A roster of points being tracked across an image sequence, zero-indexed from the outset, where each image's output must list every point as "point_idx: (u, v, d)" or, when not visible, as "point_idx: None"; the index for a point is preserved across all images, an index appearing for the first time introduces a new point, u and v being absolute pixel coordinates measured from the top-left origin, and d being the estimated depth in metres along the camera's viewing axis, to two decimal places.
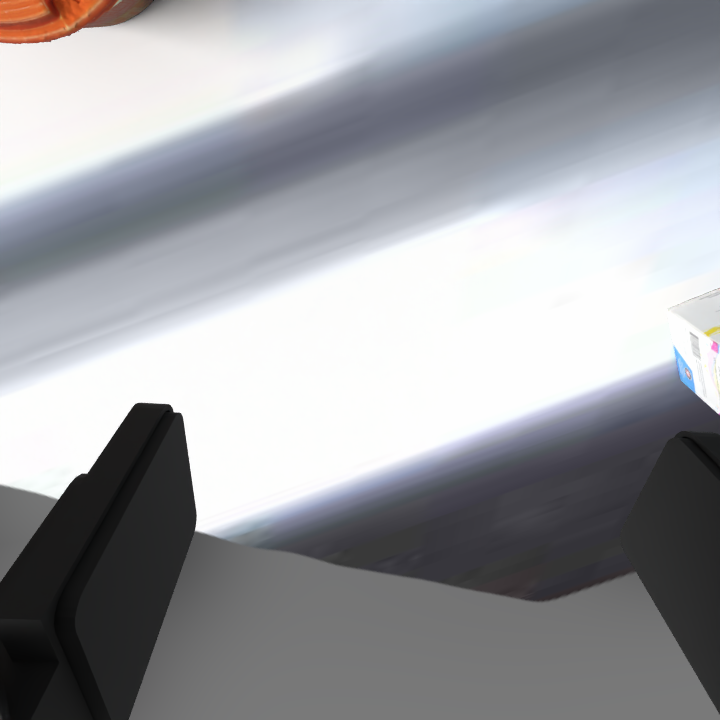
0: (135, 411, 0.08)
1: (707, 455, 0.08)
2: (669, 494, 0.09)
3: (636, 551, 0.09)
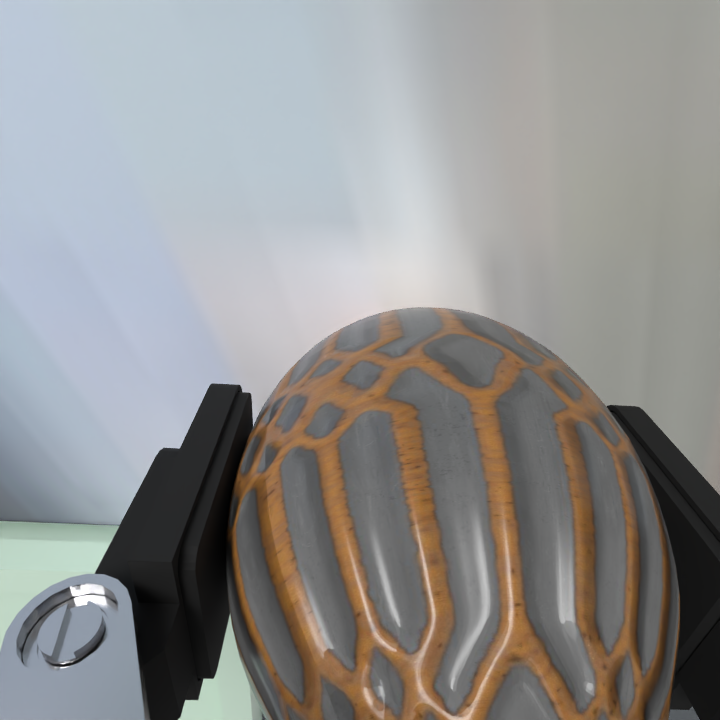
0: (212, 390, 0.08)
1: (627, 427, 0.09)
2: None
3: None
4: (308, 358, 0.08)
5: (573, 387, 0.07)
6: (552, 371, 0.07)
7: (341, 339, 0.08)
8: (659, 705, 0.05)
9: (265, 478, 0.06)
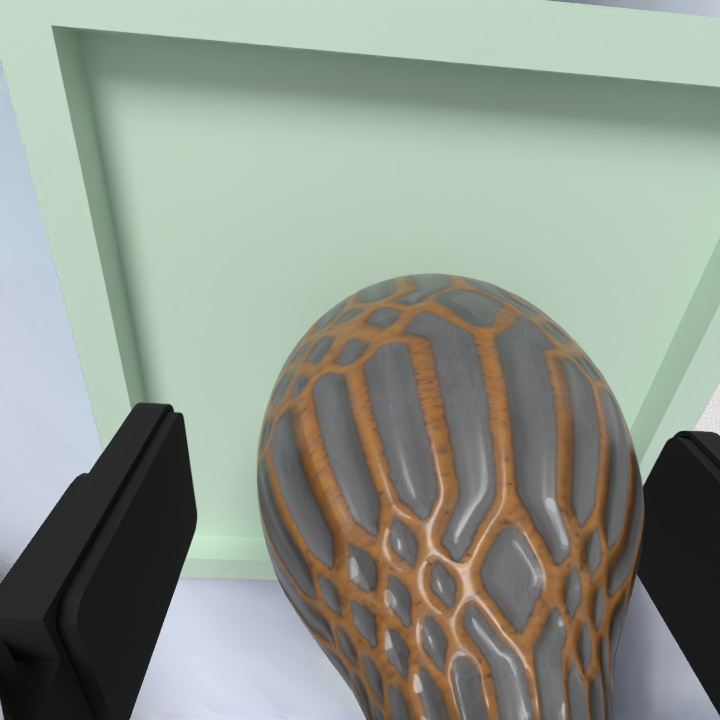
0: (136, 411, 0.08)
1: (706, 455, 0.08)
2: (668, 493, 0.09)
3: None
4: (332, 311, 0.09)
5: (561, 335, 0.08)
6: (544, 321, 0.08)
7: (362, 294, 0.09)
8: (621, 576, 0.06)
9: (298, 400, 0.07)
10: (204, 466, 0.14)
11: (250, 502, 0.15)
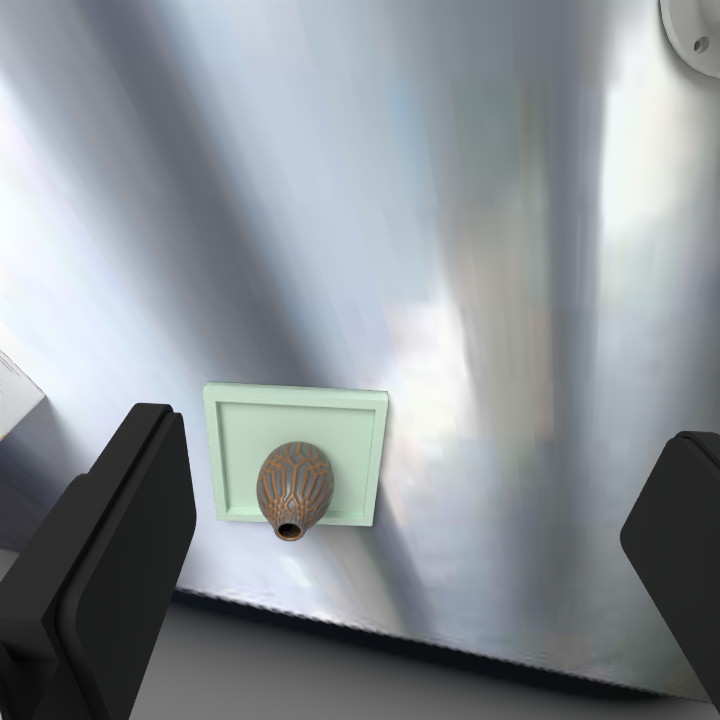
0: (135, 411, 0.08)
1: (707, 455, 0.08)
2: (669, 494, 0.09)
3: (636, 550, 0.09)
4: (272, 454, 0.42)
5: (314, 463, 0.40)
6: (311, 460, 0.41)
7: (278, 451, 0.42)
8: (312, 506, 0.39)
9: (264, 476, 0.40)
10: (240, 485, 0.47)
11: (254, 496, 0.48)
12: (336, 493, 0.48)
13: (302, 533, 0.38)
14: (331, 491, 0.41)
